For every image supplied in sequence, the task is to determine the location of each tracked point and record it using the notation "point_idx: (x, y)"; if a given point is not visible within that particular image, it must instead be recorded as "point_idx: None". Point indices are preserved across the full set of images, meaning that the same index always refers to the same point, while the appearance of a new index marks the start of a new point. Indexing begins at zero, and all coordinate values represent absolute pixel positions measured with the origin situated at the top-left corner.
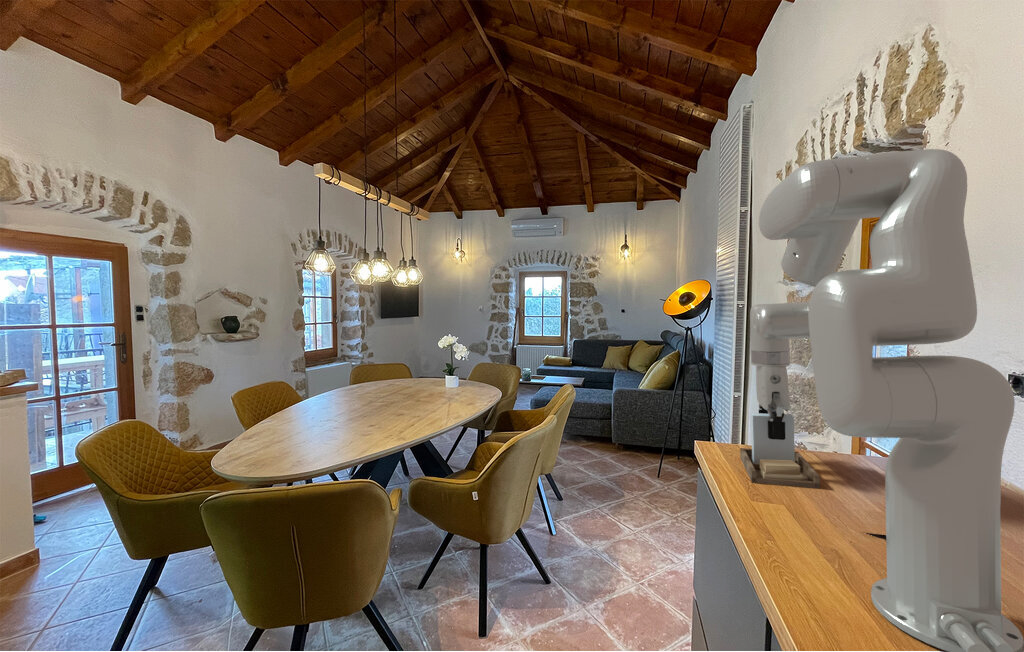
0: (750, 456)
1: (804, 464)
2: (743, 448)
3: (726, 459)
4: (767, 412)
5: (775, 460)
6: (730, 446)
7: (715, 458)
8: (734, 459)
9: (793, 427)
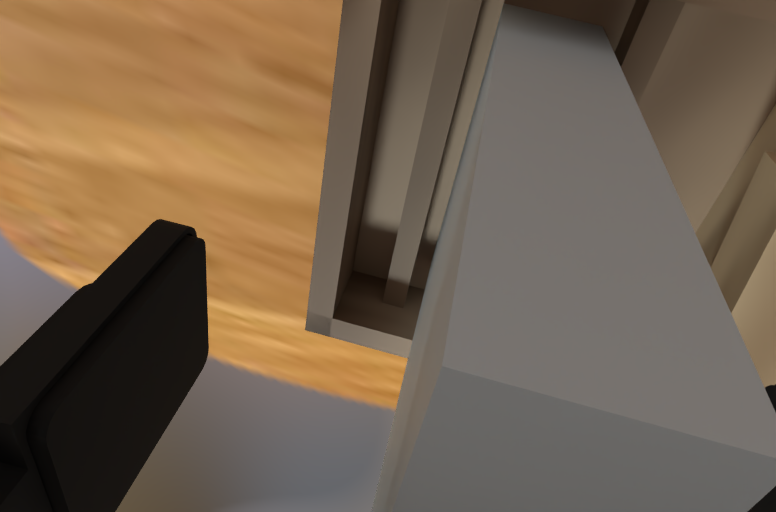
0: (350, 255)
1: (765, 19)
2: (311, 315)
3: (292, 311)
4: (84, 465)
5: (745, 321)
6: (29, 196)
7: (284, 352)
8: (284, 273)
9: (707, 272)
